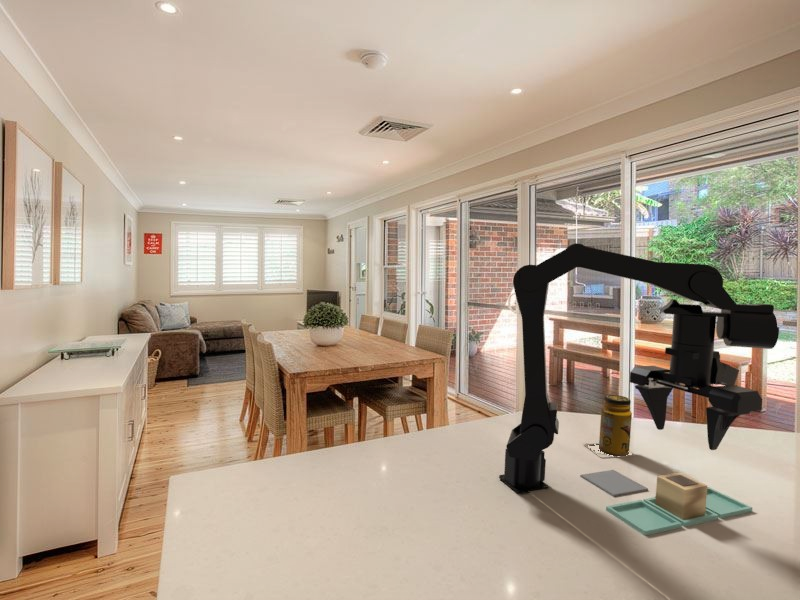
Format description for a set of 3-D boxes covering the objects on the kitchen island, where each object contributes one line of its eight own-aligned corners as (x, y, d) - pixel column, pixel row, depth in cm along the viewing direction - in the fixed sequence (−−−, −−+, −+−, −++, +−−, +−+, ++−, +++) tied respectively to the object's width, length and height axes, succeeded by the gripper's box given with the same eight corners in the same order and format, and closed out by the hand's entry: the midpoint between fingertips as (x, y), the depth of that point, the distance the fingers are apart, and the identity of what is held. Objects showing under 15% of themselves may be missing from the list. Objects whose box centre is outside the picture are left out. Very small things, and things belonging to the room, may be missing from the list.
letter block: (682, 520, 73) (684, 489, 72) (655, 505, 77) (657, 475, 77) (705, 515, 74) (707, 485, 74) (676, 500, 79) (679, 471, 79)
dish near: (644, 537, 68) (645, 531, 68) (605, 511, 75) (606, 506, 75) (681, 528, 71) (682, 523, 71) (640, 504, 78) (641, 499, 78)
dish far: (720, 520, 74) (720, 514, 74) (677, 497, 81) (678, 492, 81) (751, 512, 77) (752, 507, 77) (708, 491, 84) (708, 486, 84)
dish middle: (683, 528, 71) (684, 522, 71) (643, 504, 78) (643, 499, 78) (718, 520, 74) (718, 515, 74) (675, 498, 81) (675, 493, 81)
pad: (613, 498, 80) (613, 494, 80) (580, 477, 88) (580, 474, 88) (647, 491, 83) (648, 488, 83) (613, 472, 90) (613, 469, 90)
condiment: (638, 457, 99) (641, 402, 98) (600, 458, 97) (604, 402, 97) (617, 444, 106) (620, 392, 105) (582, 445, 105) (585, 392, 104)
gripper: (791, 352, 68) (781, 455, 69) (676, 334, 86) (670, 417, 87) (739, 354, 64) (730, 464, 65) (630, 335, 82) (624, 422, 83)
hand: (685, 438), depth 75 cm, fingers open, 9 cm apart
